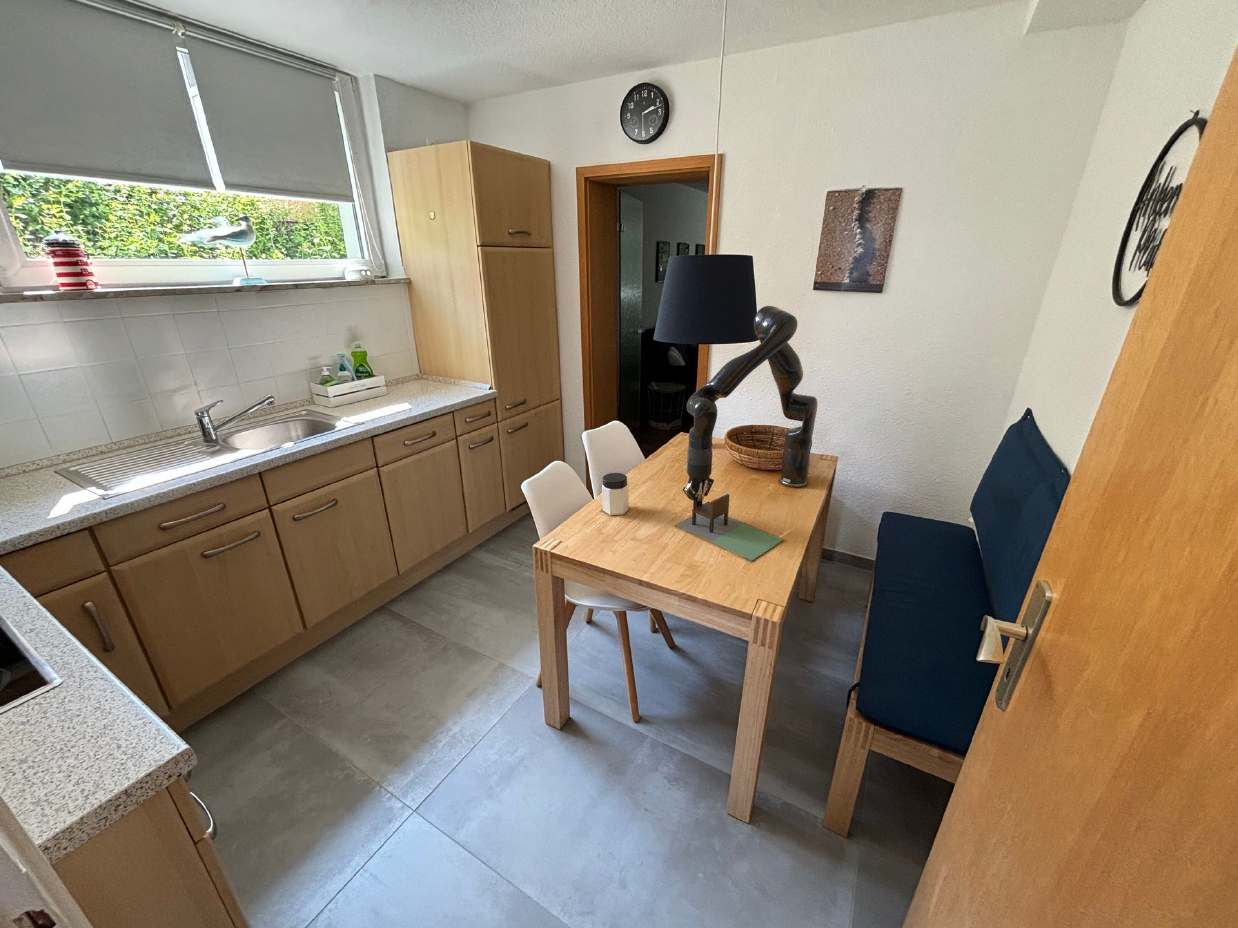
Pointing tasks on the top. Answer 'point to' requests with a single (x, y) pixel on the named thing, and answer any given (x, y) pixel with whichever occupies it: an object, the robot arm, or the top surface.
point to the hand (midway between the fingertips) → (697, 510)
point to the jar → (615, 493)
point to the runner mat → (733, 536)
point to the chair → (713, 510)
